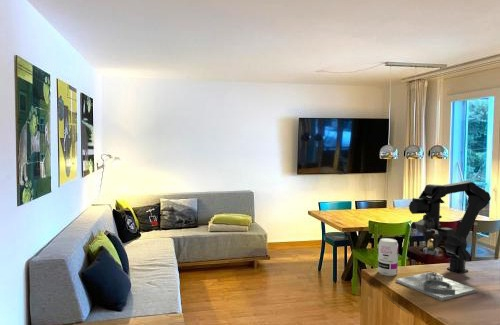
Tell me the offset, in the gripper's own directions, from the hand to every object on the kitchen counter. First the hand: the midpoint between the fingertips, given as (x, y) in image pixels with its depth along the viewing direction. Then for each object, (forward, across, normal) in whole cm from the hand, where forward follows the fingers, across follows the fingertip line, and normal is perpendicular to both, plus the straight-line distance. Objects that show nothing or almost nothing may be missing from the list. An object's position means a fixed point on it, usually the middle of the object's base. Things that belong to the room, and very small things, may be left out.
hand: (431, 247), depth 177 cm
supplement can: (+12, -8, -18) cm, 23 cm away
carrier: (+12, +13, -13) cm, 21 cm away
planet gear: (+2, 0, 0) cm, 2 cm away
